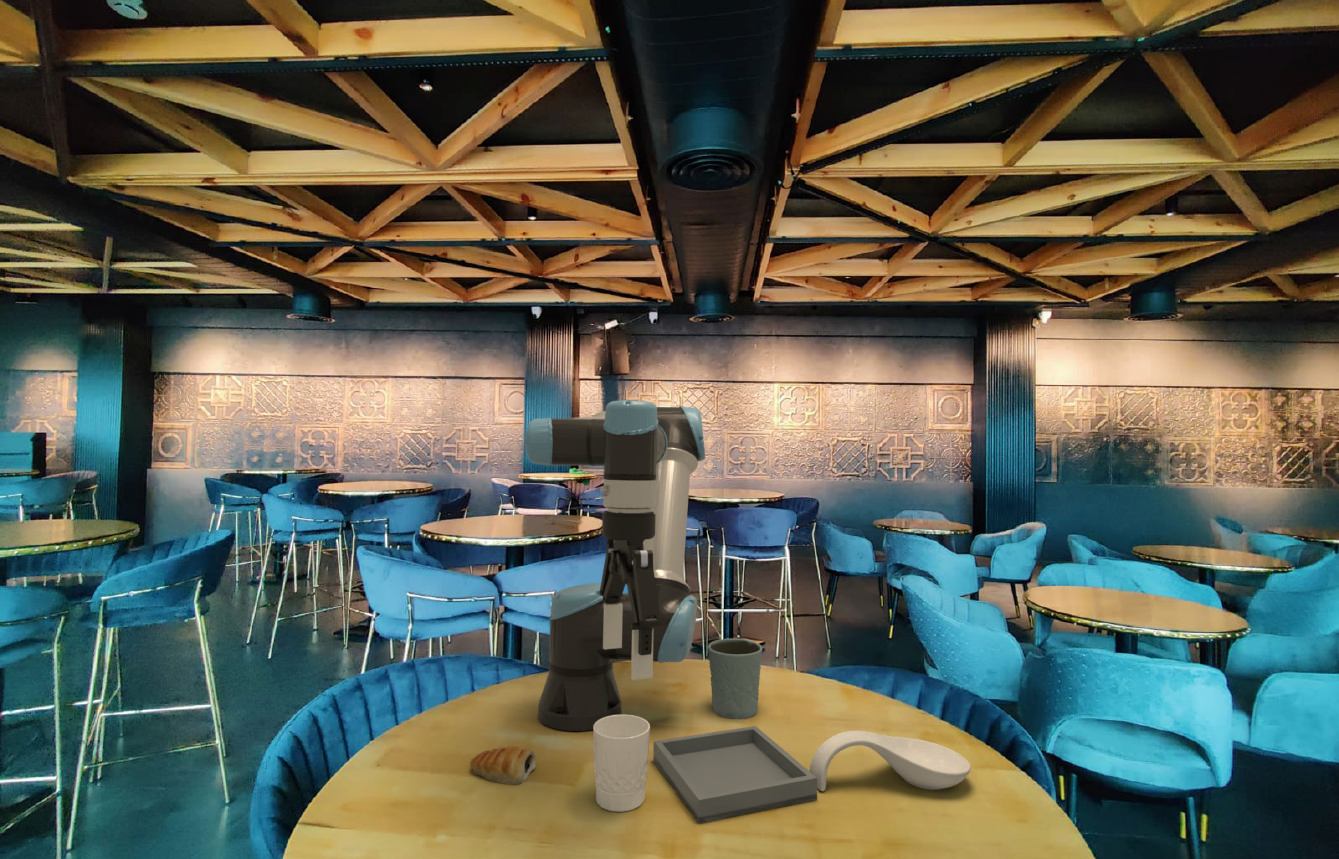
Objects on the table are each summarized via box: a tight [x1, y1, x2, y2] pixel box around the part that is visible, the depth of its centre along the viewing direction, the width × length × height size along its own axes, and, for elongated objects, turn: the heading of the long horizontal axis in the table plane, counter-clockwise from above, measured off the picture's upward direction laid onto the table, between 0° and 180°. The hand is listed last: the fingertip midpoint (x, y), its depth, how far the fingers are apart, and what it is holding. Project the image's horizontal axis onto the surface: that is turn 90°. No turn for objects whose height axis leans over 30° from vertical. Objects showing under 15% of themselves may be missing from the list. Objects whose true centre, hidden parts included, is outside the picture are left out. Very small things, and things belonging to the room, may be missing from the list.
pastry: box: [470, 745, 537, 785], centre depth 95 cm, size 9×7×4 cm
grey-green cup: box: [707, 638, 763, 720], centre depth 120 cm, size 10×10×12 cm
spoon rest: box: [809, 730, 972, 792], centre depth 94 cm, size 24×12×7 cm, turn 99°
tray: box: [653, 725, 818, 824], centre depth 94 cm, size 18×18×3 cm
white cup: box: [593, 714, 651, 813], centre depth 88 cm, size 8×8×10 cm
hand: (626, 662), depth 89 cm, fingers open, 13 cm apart
